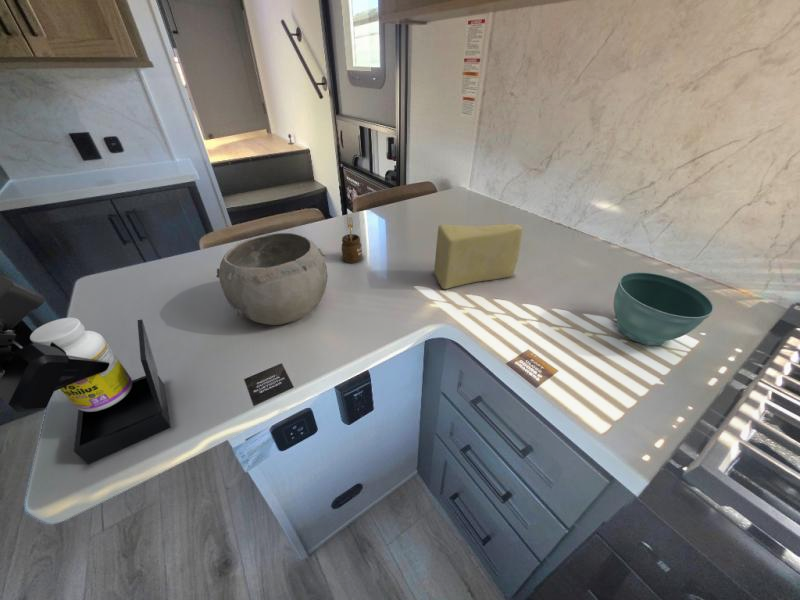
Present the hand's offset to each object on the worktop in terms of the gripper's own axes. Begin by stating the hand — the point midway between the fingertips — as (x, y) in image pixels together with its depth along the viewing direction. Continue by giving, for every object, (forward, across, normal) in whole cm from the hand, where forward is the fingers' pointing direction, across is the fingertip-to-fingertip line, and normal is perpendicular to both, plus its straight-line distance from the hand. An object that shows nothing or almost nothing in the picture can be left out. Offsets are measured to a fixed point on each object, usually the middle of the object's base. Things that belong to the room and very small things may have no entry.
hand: (94, 357), depth 44 cm
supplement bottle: (+4, 0, +6) cm, 7 cm away
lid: (+6, -3, 0) cm, 6 cm away
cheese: (+58, -36, -40) cm, 79 cm away
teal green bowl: (+55, -75, -37) cm, 101 cm away
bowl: (+33, +2, -15) cm, 37 cm away
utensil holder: (+52, 0, -34) cm, 63 cm away
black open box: (+9, 0, +10) cm, 13 cm away
